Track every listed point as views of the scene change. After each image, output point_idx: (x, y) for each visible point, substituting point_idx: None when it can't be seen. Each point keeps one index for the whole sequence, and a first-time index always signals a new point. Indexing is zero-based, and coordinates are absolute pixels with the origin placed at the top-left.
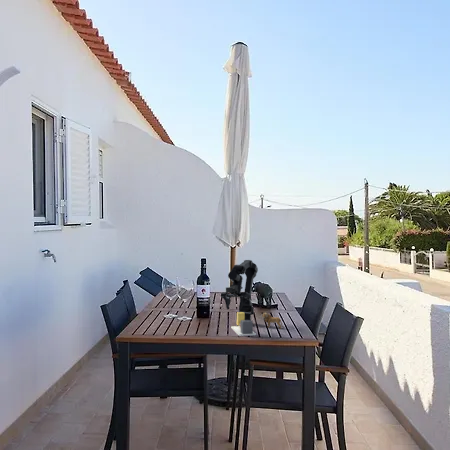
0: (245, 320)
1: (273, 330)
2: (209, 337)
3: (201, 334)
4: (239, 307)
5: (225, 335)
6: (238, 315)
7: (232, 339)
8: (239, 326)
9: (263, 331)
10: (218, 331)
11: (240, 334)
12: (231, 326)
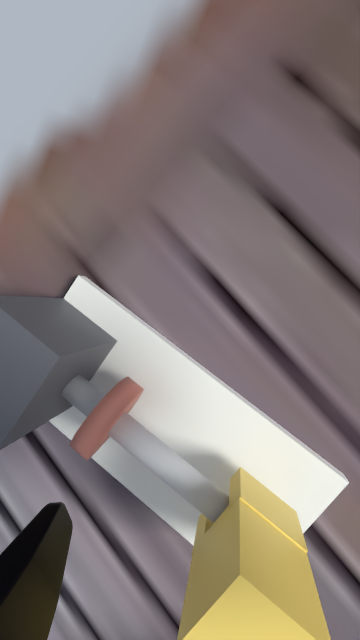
0: (16, 388)
1: None
2: (214, 44)
3: (357, 58)
4: (37, 534)
5: (170, 205)
6: (236, 549)
7: (44, 150)
8: None
9: None
10: (328, 273)
11: (74, 284)
12: (344, 480)
